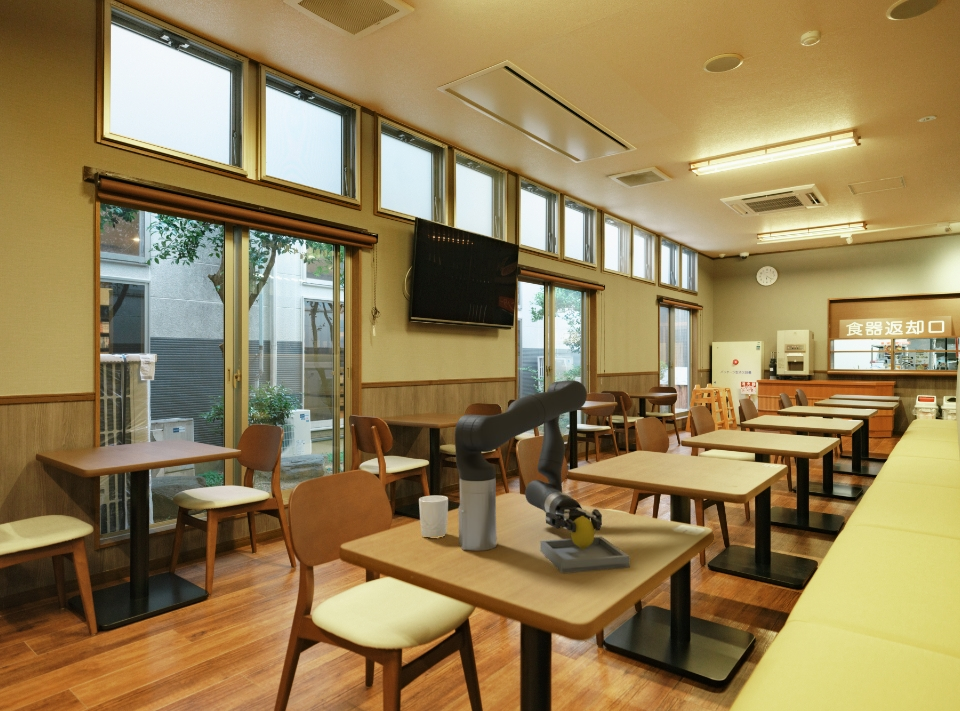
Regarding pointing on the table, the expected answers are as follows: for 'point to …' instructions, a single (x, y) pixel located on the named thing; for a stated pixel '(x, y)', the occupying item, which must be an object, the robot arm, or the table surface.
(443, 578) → the table surface
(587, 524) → the lemon
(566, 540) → the tray
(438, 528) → the white cup
